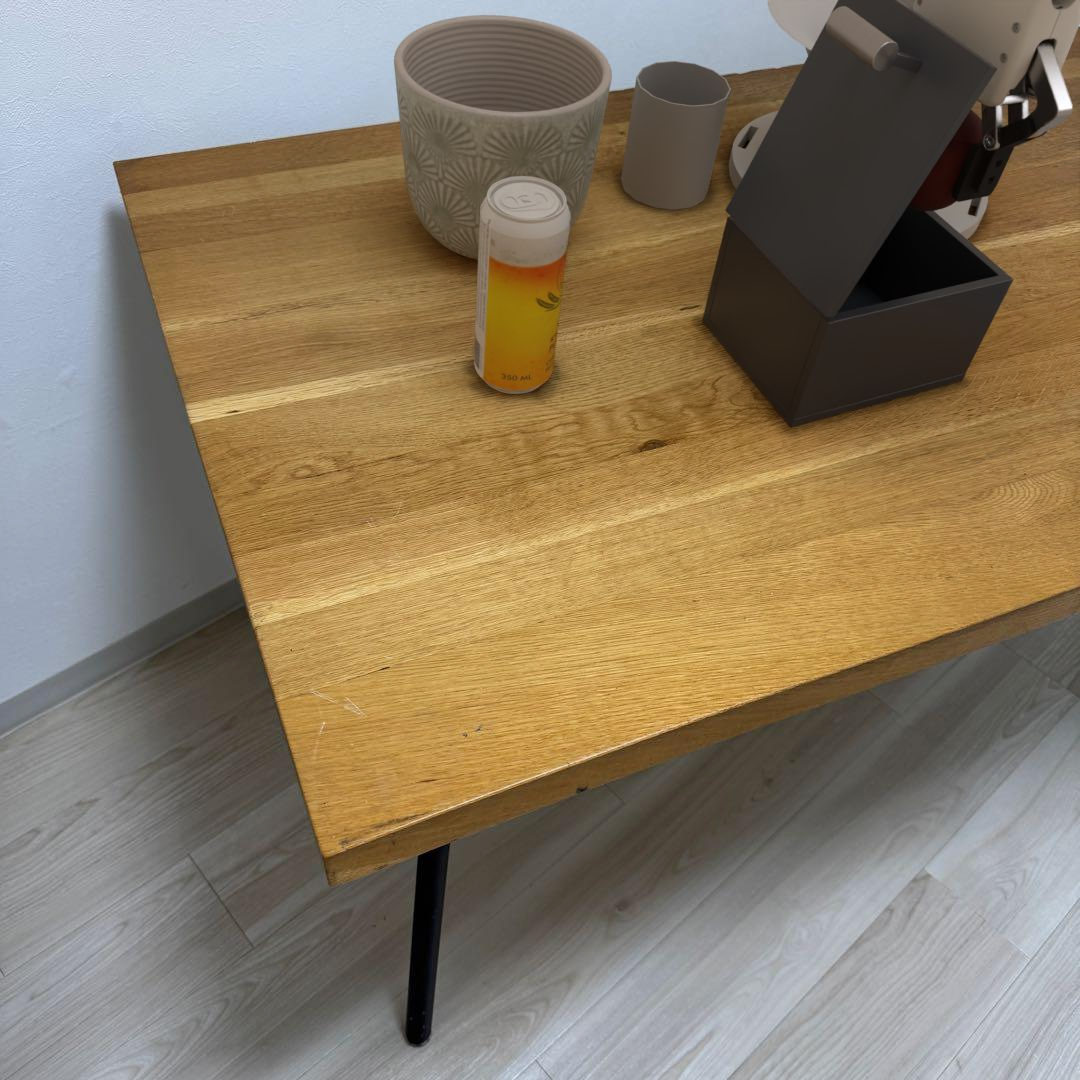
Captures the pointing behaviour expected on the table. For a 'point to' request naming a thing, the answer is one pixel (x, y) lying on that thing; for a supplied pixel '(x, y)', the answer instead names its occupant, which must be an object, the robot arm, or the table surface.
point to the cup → (674, 134)
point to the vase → (802, 14)
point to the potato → (948, 167)
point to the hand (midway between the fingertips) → (931, 163)
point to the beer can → (520, 282)
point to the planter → (495, 116)
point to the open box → (856, 320)
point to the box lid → (855, 143)
